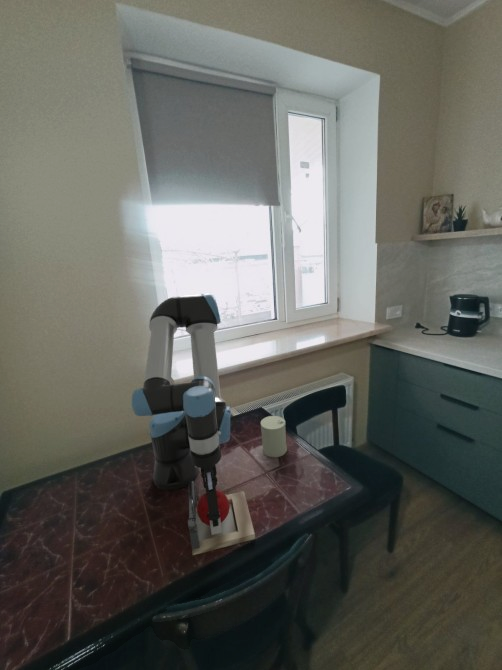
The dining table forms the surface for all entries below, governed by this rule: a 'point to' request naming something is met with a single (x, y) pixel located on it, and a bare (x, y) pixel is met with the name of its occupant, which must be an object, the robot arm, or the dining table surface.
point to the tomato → (222, 506)
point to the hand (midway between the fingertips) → (215, 517)
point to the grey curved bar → (193, 516)
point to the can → (273, 436)
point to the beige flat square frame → (227, 526)
